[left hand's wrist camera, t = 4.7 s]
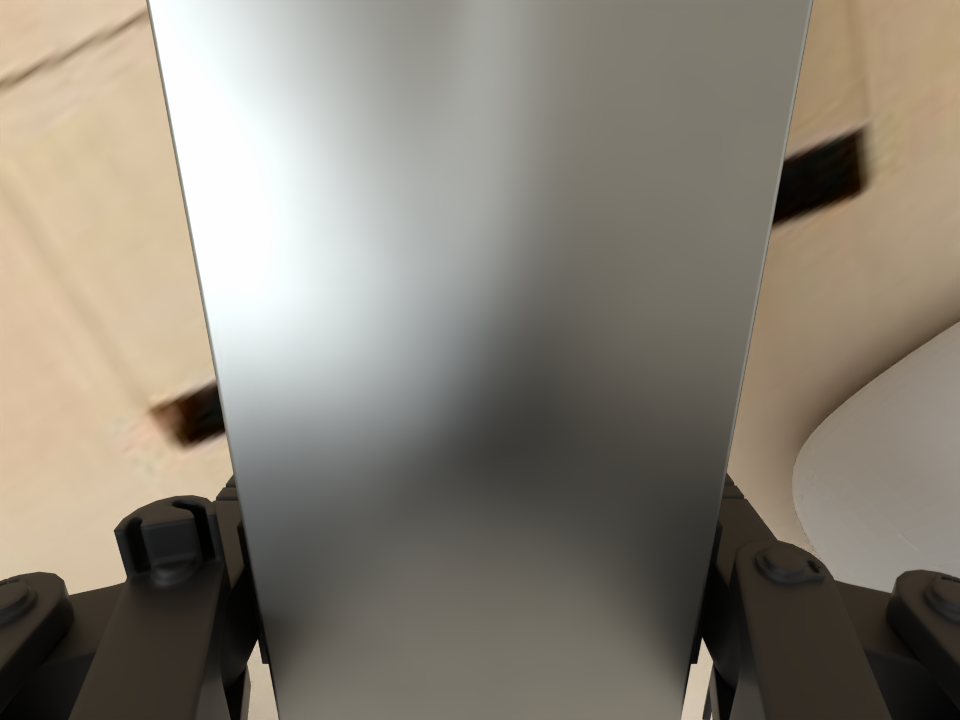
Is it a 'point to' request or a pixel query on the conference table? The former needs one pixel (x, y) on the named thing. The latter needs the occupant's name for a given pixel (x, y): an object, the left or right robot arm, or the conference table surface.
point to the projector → (888, 473)
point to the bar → (479, 330)
